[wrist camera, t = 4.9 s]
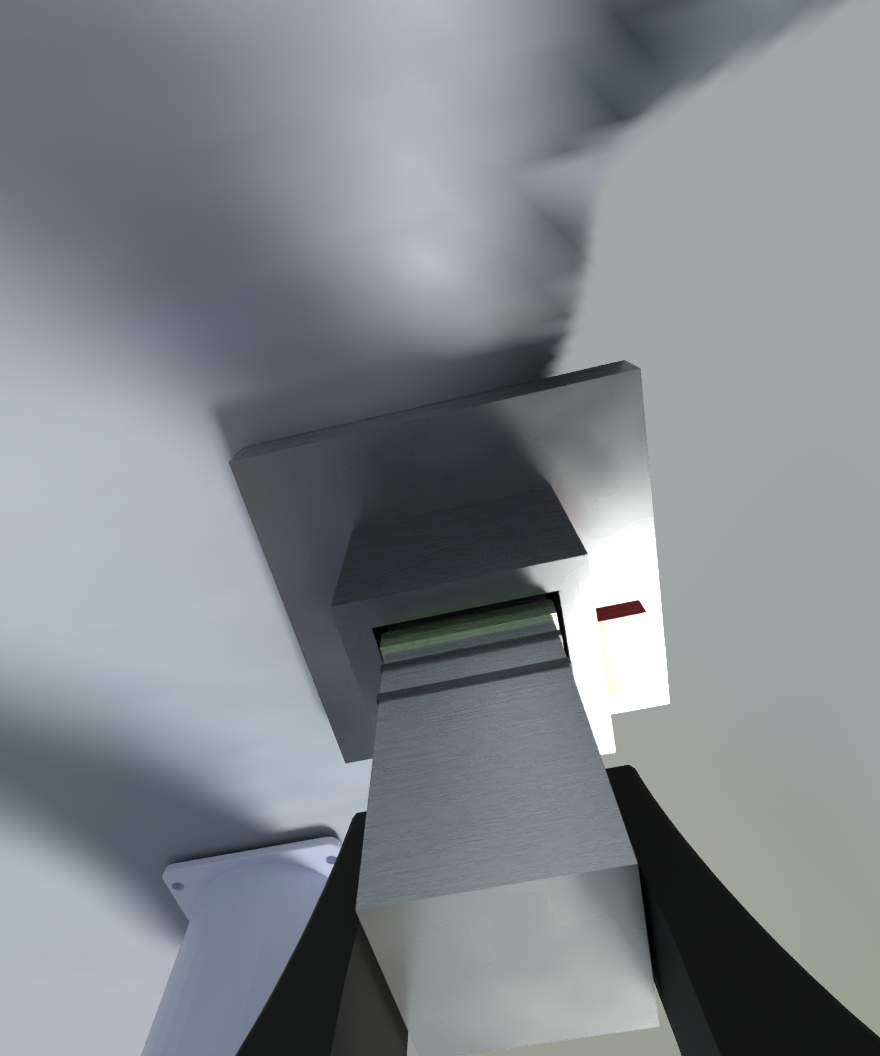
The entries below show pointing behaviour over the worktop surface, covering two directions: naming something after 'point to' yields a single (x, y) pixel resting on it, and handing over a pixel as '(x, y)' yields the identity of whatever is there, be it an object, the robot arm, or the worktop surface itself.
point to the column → (497, 842)
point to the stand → (469, 535)
